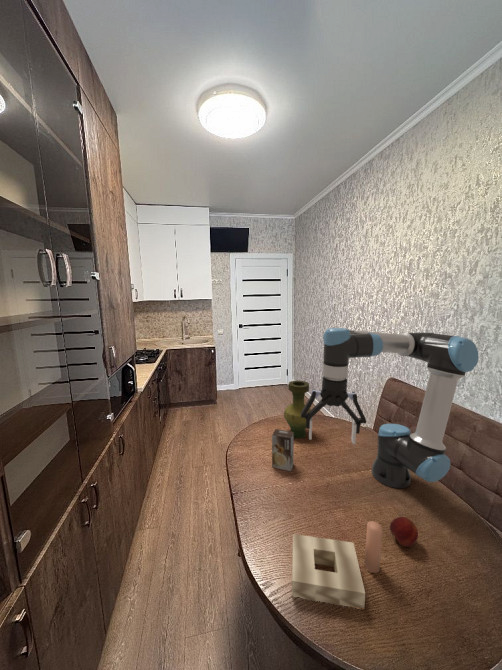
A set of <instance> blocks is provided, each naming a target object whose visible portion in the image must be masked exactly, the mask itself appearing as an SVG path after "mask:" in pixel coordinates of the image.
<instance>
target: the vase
mask: <svg viewBox="0 0 502 670" xmlns="http://www.w3.org/2000/svg"><path fill="white" fill-rule="evenodd" d="M288 390H289V391H290V392H291V393H292V394H291V395H292V403H291V404H289V405H288V406H286V407H285V408H284V412H283V418H284V419H285V421H286V423H287V424H288V426H289V428H290V430H289V431H290V432H294V439H304V438H305V437H306V436H307V433H306V430H307V428H306V419H305V418H302V417H301V411H302V410H303V408H304V406H305V405H306V403H305V394H306V393H309V391H310V383H309V382H307V381H304V380H292V381H289V382H288ZM311 409H312V408H310V409H309V410H308V412H309V411H310V410H311ZM308 412H307V413H308Z"/></svg>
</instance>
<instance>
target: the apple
mask: <svg viewBox="0 0 502 670" xmlns="http://www.w3.org/2000/svg"><path fill="white" fill-rule="evenodd" d="M389 529H390V532H391V534H392V535H393V537H394V539H396V541H397V542H398V544H399V545H401V546H403V547H412V546H414V544H416V542H417V540H418V538H419V531H418V529H417V526H416V525H415V524H414V522H413V521H412V520H411V519H409V518H407V517H405V516H399V517H395V518H394V519H393V520H392V521H391V522H390V525H389Z"/></svg>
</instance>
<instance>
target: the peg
mask: <svg viewBox="0 0 502 670" xmlns="http://www.w3.org/2000/svg"><path fill="white" fill-rule="evenodd" d="M383 529H384V528H383V526H382V525H381V524H380V523H379V522H377V521H372V520H370V521H368V522H367V524H366V534H365V535H366V536H365V537H366V538H365V551H364V563H365V564H364V567H365V566H366V567H365V569H366V568H367V569H368V570H369V572H370V571H371V572H374V573H373V574H377V573H376V572H378V571H379V572H380V566H381V553H382V540H383ZM367 569H366V570H367ZM368 570H367V571H368ZM371 572H370V573H371ZM379 572H378V573H379Z"/></svg>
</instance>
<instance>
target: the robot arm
mask: <svg viewBox="0 0 502 670" xmlns="http://www.w3.org/2000/svg"><path fill="white" fill-rule="evenodd" d="M322 340H323V359H322V360H323V363H322V379H321V385H322V386H321V390H316V389H315V388H313V389H311V395H310V397H309V399H308V400H307V402H306V403H305V406H304V408H303V410H302V411H301V417H302V418H305V419H306V430H308V440H313V439H312V437H313V436H312V435H313V418H314V416H316V415H317V413H318V412H320V410H321V409H323V408H324V407H326V405H328V407H333V406H334V407H340V406H341V407H342V408H343V409H344V410H345V411H346V412H347V413H348V415H349V416H350V418H351V419H352V423H351V439H350V440H351V442H352V444H353V445H356V441H357V434H360V430H361V425H362V424H367V422H368V421H367V419H366V417H365V415H364V414H365V413H363V412H364V411H362V408H361V405H360V404H359V401H358V395H357V393H356V392H355V391H352V392H348V389H347V388H348V379H347V378H348V374H349V373H348V372H349V361H350V360H349V359H355V358H356V359H357V358H372V357H376V356H379V355H380V354H381V353H388V354H389V353H390V354H391V353H393V354H398V355H399V356H402V357H408V358H413V359H417V360H419V361H422V362H425V363H427V365H426V369H427V370H428V371H429V377H428V381H427V385H426V389H425V392H424V398H423V401H422V405H421V408H420V409H421V410H420V413H419V415H418V420H417V421H418V422H417V424H416V430H415V432H413V433H411V429H410V428H409V427H407V426H405V425H402V424H398V423H384V424H382V425H380V426H379V430H378V436H377V455H376V458H375V460H374V461H373V463H372V465H371V474H372V477H373V478H374V479H375V480H376V481H378V482H379V483H382V484H383V485H385V486H387V487H390V488H394V489H404V488H405V489H406V488H408V487H409V486H410V485H411V482H412V481H411V479H412V475H411V472H412V473H414V474H415V475H416V476H417V477H419V478H421V479H423V480H424V481H426V482H429V483H436V482H438V481H440V480H441V479H443V478H444V477H445V476H447V474H448V472H449V470H450V468H451V460H450V457H448V455H446V454H445V453H446V449H447V447H446V445H445V444H444V443H443V440H444V436H445V432H446V430H447V429H446V428H447V426H448V425H447V424H448V421H449V417H450V413H451V410H452V406H453V401H454V397H455V393H456V390H457V385H458V382H459V380H460V379H462V378H464V377H466V373H469V372H471V371H473V370H474V369H475V367H476V366H477V365H478V362H479V350H478V347H477V345H476V343H475V342H474V341H473V340H471V339H469V338H468V337H462V336H458V335H449V334H442V333H434V332H407V331H406V332H401V333H398V334H397V333H388V332H377V331H376V332H375V331H363V330H350V329H348V328H343V327H329V328H327V329H326V330H325V331H324V333H323V336H322ZM319 396H320V398H321V399H320V400H319V402H317V404H315V405H314V406H313V407H312V408H311V406H312V405H313V403H314V402H315V400H316V399H317V398H319ZM348 398H349V400H350V401H352V402H353V404H354V406H355V408H356V411H357V413H358V415H359V417H358V416H357V415H356V413H354V411H353V410H352V409H351V407H350V406H349V405H348V404H347V402H346V400H347V399H348ZM309 409H311V410H310V411H309V412H308V410H309ZM307 412H308V413H307Z"/></svg>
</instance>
